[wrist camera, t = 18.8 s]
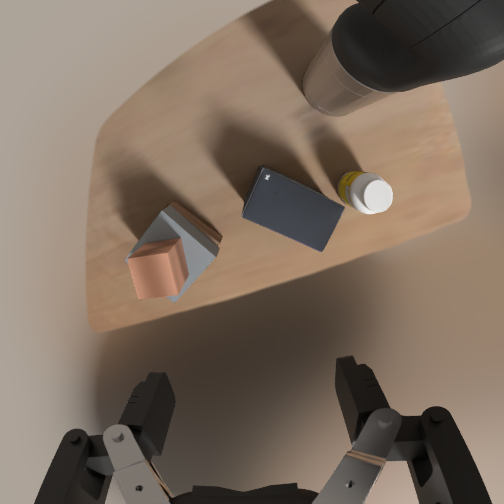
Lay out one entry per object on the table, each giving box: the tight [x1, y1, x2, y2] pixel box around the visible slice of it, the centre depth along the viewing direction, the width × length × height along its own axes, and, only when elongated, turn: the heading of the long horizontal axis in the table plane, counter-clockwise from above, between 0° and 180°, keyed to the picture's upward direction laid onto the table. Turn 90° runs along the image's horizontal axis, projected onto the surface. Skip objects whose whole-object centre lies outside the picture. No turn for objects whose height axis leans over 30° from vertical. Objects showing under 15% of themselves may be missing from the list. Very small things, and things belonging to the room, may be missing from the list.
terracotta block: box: [127, 238, 189, 299], centre depth 34 cm, size 5×5×6 cm
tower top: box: [125, 205, 219, 303], centre depth 39 cm, size 9×9×4 cm
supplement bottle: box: [338, 171, 393, 214], centre depth 37 cm, size 5×5×10 cm
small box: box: [242, 165, 345, 252], centre depth 37 cm, size 11×6×10 cm, turn 66°
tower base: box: [166, 201, 223, 246], centre depth 42 cm, size 9×9×4 cm
